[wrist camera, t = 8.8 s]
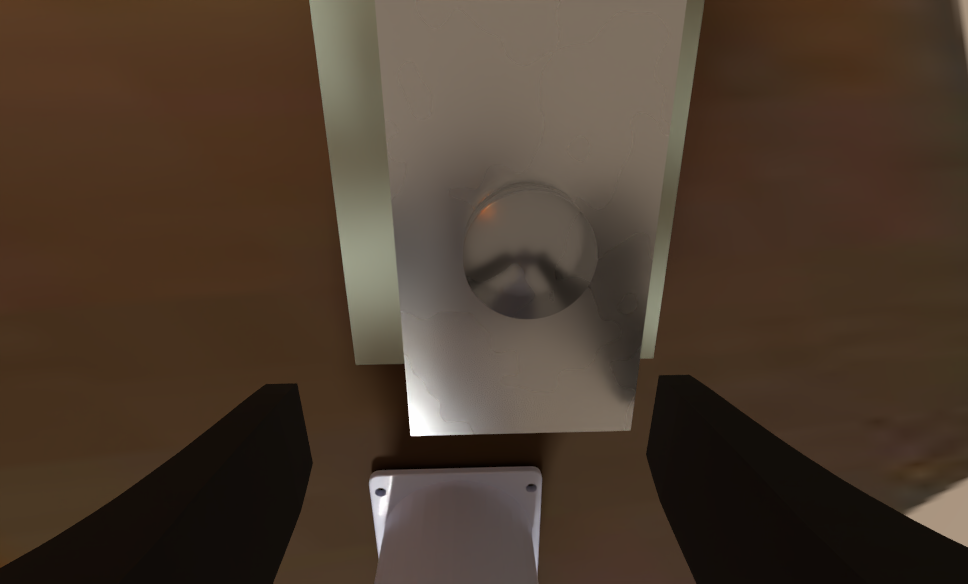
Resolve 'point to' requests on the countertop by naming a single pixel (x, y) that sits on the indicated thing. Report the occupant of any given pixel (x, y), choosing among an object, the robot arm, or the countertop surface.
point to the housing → (525, 204)
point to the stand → (366, 186)
